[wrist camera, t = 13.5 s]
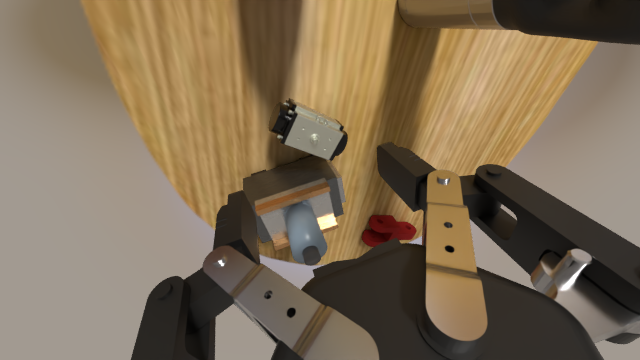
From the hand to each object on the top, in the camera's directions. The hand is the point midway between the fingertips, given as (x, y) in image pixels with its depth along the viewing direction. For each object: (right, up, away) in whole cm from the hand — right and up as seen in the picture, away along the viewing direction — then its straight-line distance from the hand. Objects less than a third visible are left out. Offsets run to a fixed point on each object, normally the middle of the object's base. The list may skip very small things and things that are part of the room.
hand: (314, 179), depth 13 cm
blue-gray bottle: (-3, -6, +26) cm, 27 cm away
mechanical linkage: (+20, -13, +54) cm, 59 cm away
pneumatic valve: (-3, +12, +29) cm, 31 cm away
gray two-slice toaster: (-6, 0, +36) cm, 36 cm away
